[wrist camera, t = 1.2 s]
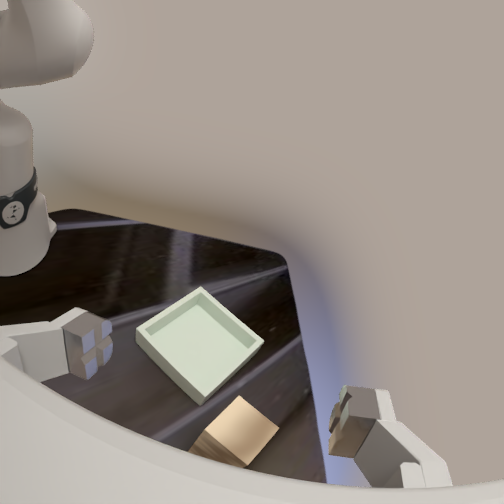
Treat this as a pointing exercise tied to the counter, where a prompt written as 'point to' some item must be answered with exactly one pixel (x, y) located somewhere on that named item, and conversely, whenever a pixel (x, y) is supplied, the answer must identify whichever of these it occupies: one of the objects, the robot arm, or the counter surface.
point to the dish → (198, 344)
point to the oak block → (235, 435)
